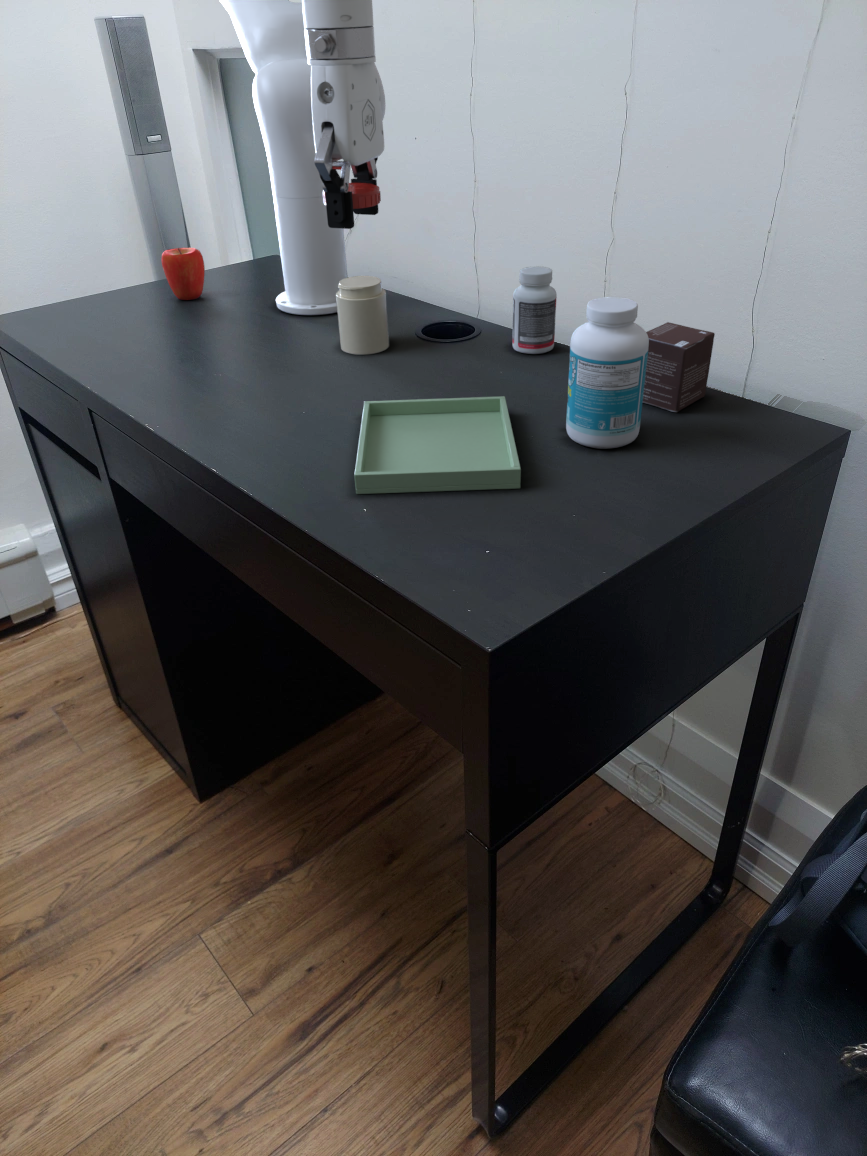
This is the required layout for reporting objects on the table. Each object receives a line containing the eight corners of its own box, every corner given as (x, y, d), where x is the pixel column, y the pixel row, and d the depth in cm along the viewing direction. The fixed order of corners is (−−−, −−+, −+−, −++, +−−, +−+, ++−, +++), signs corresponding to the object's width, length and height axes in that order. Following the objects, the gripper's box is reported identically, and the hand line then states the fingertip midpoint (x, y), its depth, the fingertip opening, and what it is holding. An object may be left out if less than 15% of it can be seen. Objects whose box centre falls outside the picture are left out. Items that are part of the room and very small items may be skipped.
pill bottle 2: (585, 415, 91) (594, 288, 83) (650, 430, 87) (666, 298, 80) (552, 441, 86) (558, 308, 78) (619, 458, 82) (633, 320, 75)
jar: (342, 339, 114) (336, 275, 109) (389, 337, 114) (385, 273, 109) (339, 355, 109) (333, 289, 104) (389, 353, 109) (384, 287, 104)
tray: (365, 418, 92) (364, 401, 91) (504, 413, 92) (504, 396, 91) (356, 494, 78) (354, 475, 77) (520, 488, 78) (520, 469, 77)
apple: (208, 290, 136) (200, 241, 132) (210, 300, 131) (201, 250, 127) (168, 294, 135) (158, 245, 131) (169, 304, 130) (158, 254, 126)
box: (659, 384, 97) (667, 321, 93) (706, 397, 94) (716, 332, 90) (629, 399, 94) (636, 334, 90) (676, 414, 90) (685, 347, 86)
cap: (367, 210, 98) (366, 195, 97) (313, 207, 100) (312, 192, 99) (388, 198, 103) (388, 184, 102) (337, 195, 105) (336, 181, 104)
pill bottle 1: (562, 349, 108) (567, 270, 103) (530, 358, 106) (532, 278, 100) (536, 338, 112) (538, 262, 106) (503, 346, 110) (504, 269, 104)
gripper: (339, 52, 85) (353, 239, 95) (400, 42, 98) (407, 207, 108) (272, 53, 87) (294, 236, 97) (341, 43, 100) (354, 204, 110)
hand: (354, 219), depth 103 cm, fingers closed on cap, 6 cm apart
